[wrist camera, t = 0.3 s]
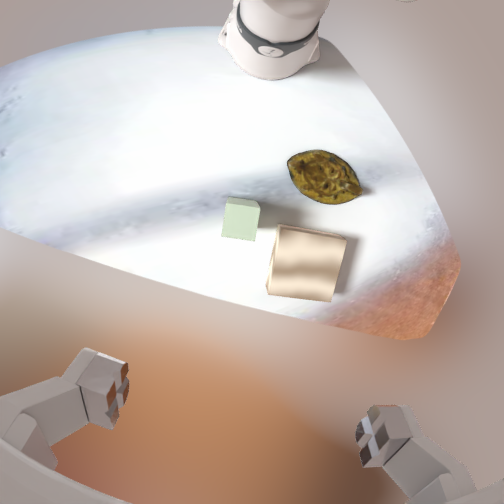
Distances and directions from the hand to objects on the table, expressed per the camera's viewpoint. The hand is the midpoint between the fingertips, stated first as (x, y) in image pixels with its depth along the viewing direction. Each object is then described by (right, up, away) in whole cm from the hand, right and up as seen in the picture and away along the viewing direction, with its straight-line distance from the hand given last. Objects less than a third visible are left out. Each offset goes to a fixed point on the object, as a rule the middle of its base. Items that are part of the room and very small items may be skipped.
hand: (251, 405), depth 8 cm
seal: (+13, +18, +44) cm, 50 cm away
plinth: (+10, +3, +48) cm, 49 cm away
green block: (-2, +12, +45) cm, 46 cm away
